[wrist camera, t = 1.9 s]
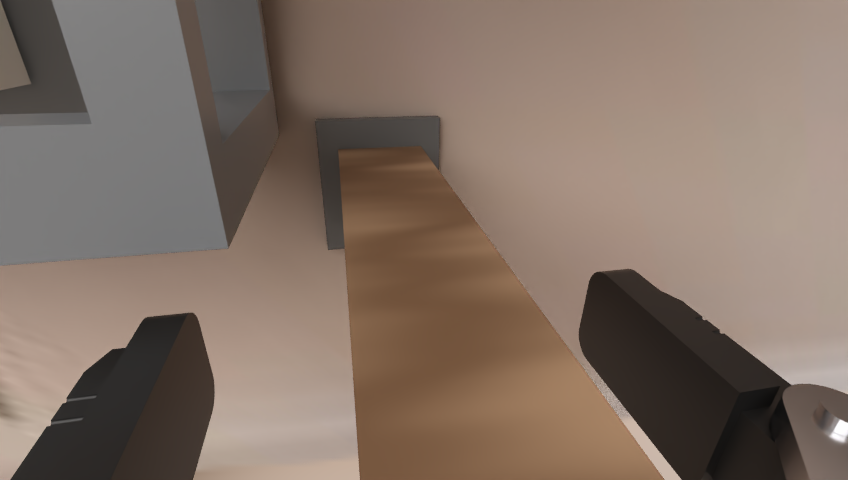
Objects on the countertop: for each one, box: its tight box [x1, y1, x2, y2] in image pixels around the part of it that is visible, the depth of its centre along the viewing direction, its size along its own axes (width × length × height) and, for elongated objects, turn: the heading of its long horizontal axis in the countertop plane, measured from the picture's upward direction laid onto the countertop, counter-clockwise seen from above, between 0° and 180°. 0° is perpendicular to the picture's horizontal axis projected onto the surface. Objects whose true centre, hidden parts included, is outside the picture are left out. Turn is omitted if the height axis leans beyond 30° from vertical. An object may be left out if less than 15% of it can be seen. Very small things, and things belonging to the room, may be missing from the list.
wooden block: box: [338, 146, 664, 480], centre depth 10 cm, size 3×3×14 cm
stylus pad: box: [315, 116, 440, 250], centre depth 17 cm, size 4×5×1 cm
